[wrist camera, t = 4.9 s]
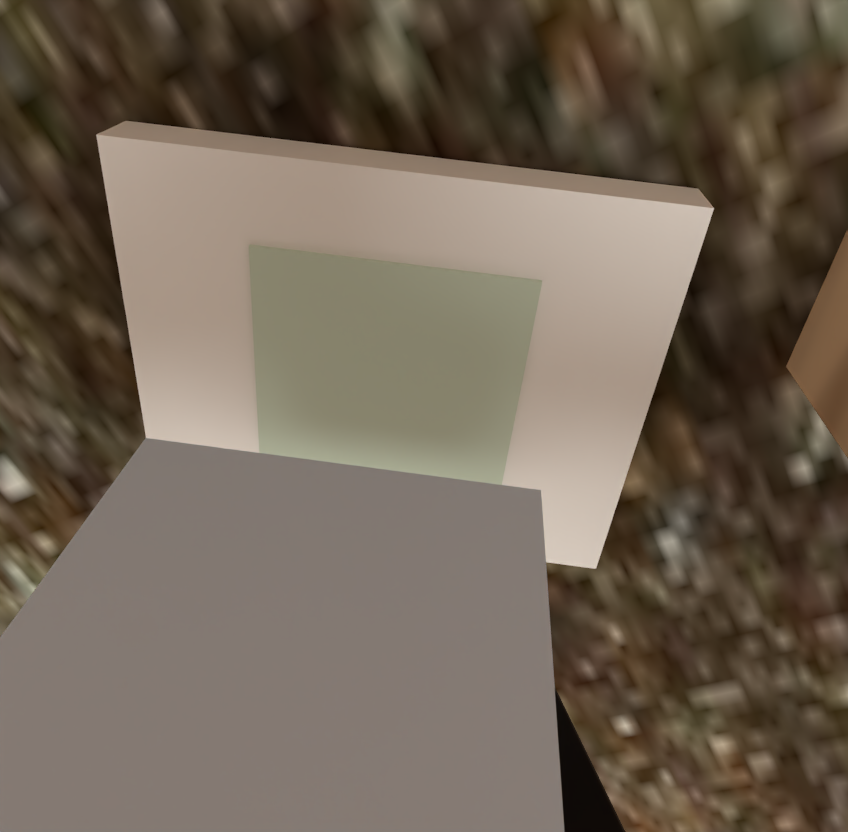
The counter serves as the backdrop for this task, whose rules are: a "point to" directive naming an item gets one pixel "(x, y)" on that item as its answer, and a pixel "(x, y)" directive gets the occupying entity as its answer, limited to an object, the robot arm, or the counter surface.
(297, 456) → the plate
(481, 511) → the grey cube
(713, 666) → the counter surface
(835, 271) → the brown cube
